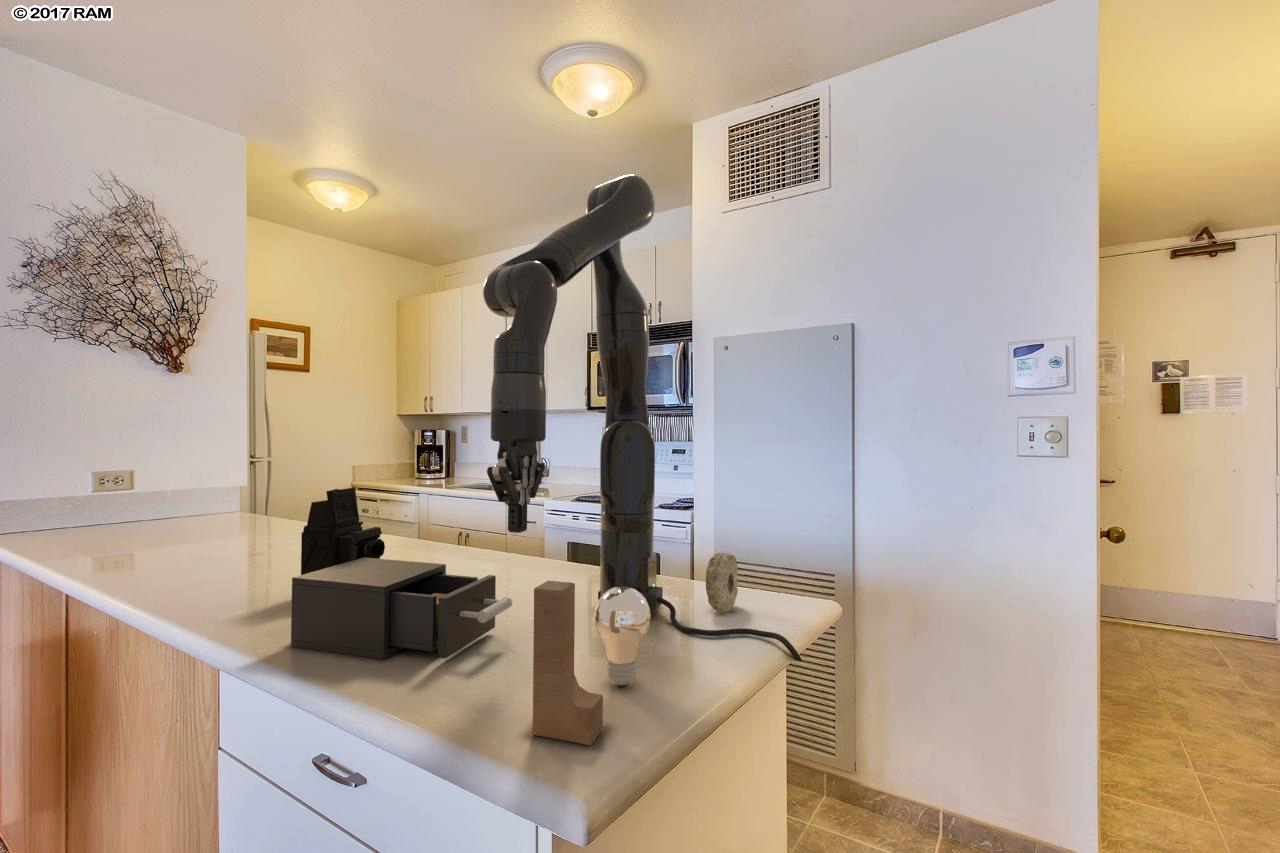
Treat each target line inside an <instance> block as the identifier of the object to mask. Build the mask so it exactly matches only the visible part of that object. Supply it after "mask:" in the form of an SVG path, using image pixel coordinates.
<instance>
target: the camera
mask: <svg viewBox="0 0 1280 853" xmlns="http://www.w3.org/2000/svg"><path fill="white" fill-rule="evenodd" d="M306 522H307V523H306V525H304V526H303V530H302V532H301V546H300V547H301V549H300V551H301V552H300V575H304V574H307V573H311V572H314V571H318V570H321V569H325V568H328V567H332V566H335V565H339V564H343V563H346V562H350V561H353V560H357V559H360V558H376V559H381V557H382V556H383V555H384V553H385V547H386V545H385V542H384V540H382V539H381V535H382V534H383V532H382V528H381V527H380V526H373V527H370V528H365V529H363V526H362V525H363V524H364V521H360V516H359V507H358V500H357V491H356V486H355V487H349V488H341V489H339V488H334V489H331V490H326V499H325V500H319V501H311V504H310V509H309V513H308V518H307V521H306Z"/></svg>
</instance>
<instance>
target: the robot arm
mask: <svg viewBox="0 0 1280 853" xmlns="http://www.w3.org/2000/svg"><path fill="white" fill-rule="evenodd" d="M585 209H586V210H585V211H586V213H585V214H582V215H581V216H579V217H578V218H575V219H573V220H571V221H570V222H567V223H566V224H564V225H562V226H561V227H559V228H557V229H556V230H554V231H553V232H551V233H550V234H549V235H547V236H546V237H545V238H543V239H542V240H540V241H539V242H538V243H537V244H536V245H534V247H532V248H531V249H529V250H527V251H525V252H523V253H520V254H519V255H517V256H515V257H513V258H511V259H509V260H507V261H505V262H503V263H502V264H500V265H498V266H497V267H495V268H494V269H492V271H490V273H489V274H488V275H487V277H486V278H485V281H484V284H483V286H482V287H483V288H482V297H483V300H484V303H485V305H486V307H487V308H488V309H489V310H490V312H492V313H493V314H494V315H497V316H499V317H501V318H512V321H511V325H510V326H509V327H508V328H507V329H505V330H504V331H502V332H500V333H499V334H498V335H496V337H495V338H494V342H493V360H492V361H493V365H492V366H493V368H492V369H493V370H492V372H493V373H492V382H491V389H490V390H491V391H490V440H492V441H493V442H498V443H499V445H498V450H497V454H496V458H497V462H496V463H495V465H494V466H488V467H487V469H486V474H487V477H488V479H489V481H490V483H491V486H492V488H493V491H494V493H495V495H496V498H497V500H498V502H499V503H504V504H505V505H506V506H507V531H508V532H509V533H515V534H516V533H517V534H520V533H523V532H526V531H527V530H528V505H529V504H530V503H531V500H532V499H535V498H536V496H537V493H538V490H539V487H540V485H541V481H542V478H543V475H544V473H545V469H546V464H545V462H539V461H538V448H537V442H544V441H545V440H546V438H547V434H546V433H547V428H546V427H547V387H546V380H545V378H546V376H545V366H546V365H545V359H546V356H545V355H546V354H545V353H546V352H545V350H546V344H547V340H548V337H549V334H550V330H551V326H552V323H553V319H554V316H555V312H556V308H557V302H558V289H559V288H561V287H563V286H565V285H567V284H568V283H569V282H571V280H573V279H574V278H575V277H576V276H577V275H578V274H579V273H580V272H582V271H583V270H584V269H585V268H586V267H587V266H589V264H590V263H591V262H592V264H593V278H594V291H595V292H594V294H595V321H596V322H595V324H596V326H595V327H596V342H597V351H598V358H599V363H600V369H601V375H602V380H603V385H604V391H605V423H604V424H605V425H604V432H603V434H602V437H601V440H600V451H599V452H600V453H599V454H600V455H599V459H600V460H599V462H600V463H599V474H600V476H599V484H600V485H599V492H600V493H599V495H600V553H599V554H600V555H599V556H600V557H599V558H600V559H599V560H600V562H599V563H600V564H599V566H600V568H599V575H600V576H599V590H598V592H597V593H598V594H597V602H598V601H599V599H600V598H601V596H602V595H603V594H604V593H605V592H607V591H608V590H610V589H612V588H614V587H618V586H627V587H631V588H633V589H635V590H637V591H638V592H640V593H641V594H642V595H643V596H644V598H645V599H646V601H647V603H648V605H649V609H650V614H651V615H652V613H653V612H657V610H658V609H660V607H661V606H662V605H663V606H665V607H666V608H667V609H669V611H670V614H669V620H670V622H671V623H672V625H673V626H674V627H675V629H677V630H678V631H680V632H682V633H685V634H692V635H698V636H704V637H721V636H723V637H724V636H733V635H734V636H735V635H750V636H757V637H760V638H761V637H762V638H768V639H773V640H776V641H778V642H780V643H781V644H782V645H783V646H784V647H785V648H786V649H787V650H788V652H789V654H790V655H791V656H792V657H793V659H794V660H795V661H798V662H801V661H803V659H802V658H801V656H800V654H799V652H798V651H797V650H796V649H795V647H794V646H793V644H792V643H791V642H790V641H789V640H788V638H786V637H785V636H783V635H782V634H779V633H776V632H773V631H766V630H759V629H753V628H745V627H742V628H740V627H738V628H737V627H736V628H727V629H702V628H696V627H695V628H694V627H687V626H683V625H682V624H681V623H680V622H679V621H678V620H677V618H676V615H677V613H676V612H677V611H676V608H675V606H674V605H673V604H672V603H671V602H670V601H668V600H667V599H665V598H663V596H664V594H663V590H664V589H663V588H664V587H663V586H657V560H658V559H657V553H656V552H654V533H655V532H654V528H655V527H654V526H655V525H654V524H655V522H654V521H655V519H654V518H655V517H654V516H655V515H654V514H655V513H654V512H655V490H656V487H655V484H656V483H655V482H656V479H655V478H656V444H655V443H656V442H655V437H654V435H653V433H652V431H651V427H650V420H649V419H650V418H649V411H648V405H647V404H648V403H647V391H646V390H647V380H648V369H649V355H650V331H649V330H650V328H649V327H650V326H649V311H648V310H649V309H648V305H647V302H646V301H645V299H644V297H643V295H642V293H641V291H640V290H639V288H638V286H637V285H636V284H635V283H634V281H633V280H632V278H631V277H630V275H629V273H628V272H627V270H626V268H625V265H624V262H623V256H622V255H623V254H622V247H621V246H622V244H621V243H622V242H621V240H622V239H624V238H625V237H627V236H629V235H630V234H633V233H635V232H638V231H641V230H642V229H644V228H645V227H647V226H648V225H649V224H650V223H651V222H652V220H653V218H654V215H655V212H656V202H655V195H654V193H653V190H652V189H651V187H650V185H649V184H648V182H647V181H646V180H645V179H644V178H643V177H641V176H639V175H635V174H627V175H623V176H620V177H617V178H614V179H612V180H609V181H607V182H605V183H602V184H599V185H597V186H595V187H593V188H592V189H591V190H590V192H589V193H588V196H587V199H586V208H585Z"/></svg>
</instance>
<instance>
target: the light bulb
mask: <svg viewBox="0 0 1280 853" xmlns="http://www.w3.org/2000/svg"><path fill="white" fill-rule="evenodd" d="M651 615H652V613H651V614H650V609H649V605H648V603H647V601H646V599H645V598H644V596H643V595H642V594H641V593H640V592H638V591H637V590H635V589H633V588H631V587H627V586H618V587H614V588H612V589H610V590H608V591H607V592H605V593H604V594H603V595H602V596H601V598H600V599H599V601H598V600H597V603H596V604H595V607H594V612H593V622H594V627H595V630H596V632H597V634H598V636H599V637H600V639H601V640H602V643H603V645H604V648H605V654H606V657H607V659H608V662H607V663H608V664H607V665H608V666H607V667H608V668H607V670H608V672H607V673H608V675H607V676H608V678H609V679H610V681H612V682H613V684H615V685H616V686H617V687H618V688H625V687H627V685H628V684H630V683H631V682H632V681H633V680H634V678H635V677H636V659H637V657H638V655H639V654H638V653H639V648H640V645H641V643H642V641H643V639H644V637H645V636H646V634H647V633H648V630H649V628H650V623H651V620H652V616H651Z"/></svg>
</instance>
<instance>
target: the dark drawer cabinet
mask: <svg viewBox="0 0 1280 853" xmlns="http://www.w3.org/2000/svg"><path fill="white" fill-rule="evenodd" d="M433 574H446V575H447V564H445V563H437V562H436V563H435V562H423V561H412V560H411V561H410V560H398V559H388V558H386V559H385V558H380V559H376V558H360V559H357V560H353V561H350V562H346V563H343V564H339V565H335V566H332V567H328V568H325V569H321V570H318V571H314V572H311V573H307V574H304V575H301V574H300V575H296V576H293V577H292V578H291V616H290V618H291V619H290V647H293V648H300V649H307V650H308V649H309V650H315V651H320V652H328V653H335V654H343V655H350V656H358V657H364V658H371V659H378V660H379V659H380V660H385V659H387V658H389V657H391V656H393V655H394V654H396V653H398V652H400V651H402V650H403V649H405V648H403V647H396V646H388V628H389V591H391V590H394V589H397V588H399V587H402V586H404V585H407V584H410V583H412V582H415V581H418V580H420V579H423V578H425V577H428V576H431V575H433Z"/></svg>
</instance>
